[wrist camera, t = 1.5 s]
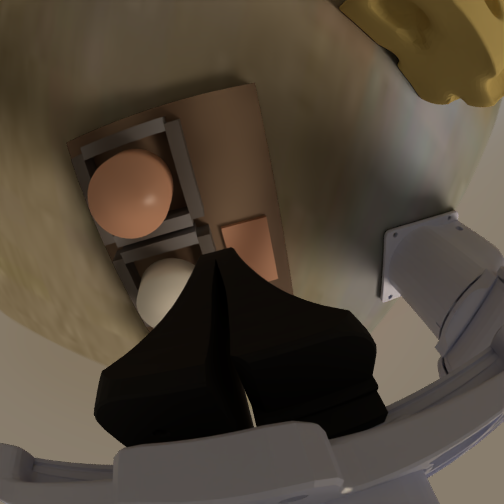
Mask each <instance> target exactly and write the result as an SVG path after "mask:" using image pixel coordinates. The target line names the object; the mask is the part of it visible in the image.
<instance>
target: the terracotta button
mask: <svg viewBox="0 0 504 504" xmlns="http://www.w3.org/2000/svg"><path fill="white" fill-rule="evenodd" d="M172 195H173V178H172V175H171V172H170V170H169V168H168V166H167V165H166V163H165V162H164V161H163V160H162V159H161V158H160V157H159V156H157V155H156V154H154V153H152V152H150V151H148V150H144V149H128V150H124V151H122V152H120V153H118V154H116V155H114V156H113V157H111V158H110V159H109V160H107V161H106V162H104V163H103V164H102V165H101V166H99V168H98V169H97V170H96V171H95V173H94V174H93V176H92V178H91V180H90V183H89V187H88V204H89V208H90V211H91V213H92V216H93V217H94V219H95V220H96V222H97V223H98V224H99V225H100V226H101V227H102V228H103V229H104V230H106V231H107V232H109V233H110V234H112V235H115V236H117V237H121V238H128V239H133V238H139V237H143V236H146V235H148V234H150V233H152V232H153V231H154V230H156V229H157V228H158V227H159V226H160V225H161V224H162V222H163V221H164V219H165V218H166V216H167V213H168V211H169V207H170V203H171V199H172Z"/></svg>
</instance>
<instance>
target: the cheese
mask: <svg viewBox="0 0 504 504" xmlns="http://www.w3.org/2000/svg"><path fill="white" fill-rule="evenodd" d="M339 9H340V10H341V11H342V12H343V13H344V14H345V15H346V16H347V17H349V18H350V19H351V20H352V21H353V22H354V23H355V24H356V25H358V26H359V27H360V28H361V29H362V30H363V31H364V32H365V33H366V34H367V35H368V36H370V37H371V38H372V39H373V40H374V41H375V42H376V43H377V44H379V45H380V46H382V47H384V48H386V49H388V50H390V51H391V52H392V53H394V54H395V55H396V56H397V57H398V59H399V62H398V67H399V69H400V70H401V72H402V73H403V74H404V76H405V77H406V78H407V80H408V81H409V82H410V83H411V85H412V86H413V88H414V89H415V91H416V92H417V94H418V95H419V96H420V98H421V99H423V100H425V101H428V102H430V103H434V104H442V105H443V104H449V103H451V102H452V101H454V100H457V99H459V98H461V99H463V100H464V101H465V102H466V104H468V105H470V106H475V107H490V106H493V105H495V104H496V103H497V102H498V100H499V99H500V98H502V97H503V96H504V0H346V1H345V2H344V3H343V4H342V5H341V6H340V7H339Z"/></svg>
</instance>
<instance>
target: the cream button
mask: <svg viewBox="0 0 504 504" xmlns="http://www.w3.org/2000/svg"><path fill="white" fill-rule="evenodd" d="M194 267H195V265H194V264H192V263H190V262H188V261H185V260H182V259H177V258H167V259H162V260H159V261H157V262H155V263H153V264H152V265H150V266H149V267H148V268H147V269H146V270H145V272H144V274H143V276H142V279H141V283H140V287H139V291H138V295H137V301H136V304H137V309H138V312H139V314H140V316H141V318H142V319H143V320H144V321H145V322H146V323H147V324H148V325H150V326H151V327H153V328H154V327H155V326H156V325H157V324H158V323H159V322H160V321H161V320H162V319H163V318H164V316H165V315H166V314H167V312H168V311H169V310H170V309H171V307H172V306H173V305H174V303H175V302H176V300H177V298H178V297H179V295H180V293H181V292H182V290H183V289H184V287H185V285H186V283H187V281H188V279H189V277H190V275H191V273H192V271H193V269H194Z"/></svg>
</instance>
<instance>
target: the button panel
mask: <svg viewBox="0 0 504 504" xmlns="http://www.w3.org/2000/svg"><path fill="white" fill-rule="evenodd" d="M67 147H68V150H69V153H70V156H71V161H72V164H73V167H74V170H75V172H76V175H77V178H78V181H79V184H80V187H81V189H82V192H83V195H84V197H85V200H86V202H87V205H88V208H89V204H88V187H89V183H90V180H91V178H92V176H93V174H94V173H95V171H96V170H97V169H98V168H99V166H101V165H102V164H103V163H104V162H106V161H107V160H109V159H110V158H111V157H113V156H114V155H116V154H118V153H120V152H122V151H124V150H128V149H144V150H148V151H150V152H152V153H154V154H156V155H157V156H159V157H160V158H161V159H162V160H163V161H164V162H165V163H166V165H167V166H168V168H169V170H170V172H171V175H172V178H173V195H172V199H171V203H170V207H169V211H168V213H167V216H166V218H165V219H164V221H163V222H162V224H161V225H160V226H159V227H158V228H157V229H156V230H154V231H153V232H152V233H150V234H148V235H146V236H143V237H139V238H133V239H128V238H121V237H117V236H115V235H112V234H110V233H109V232H107V231H106V230H104V229H103V228H102V227H101V226H100V225H99V224H98V223H97V222H96V220H95V219H94V217H93V216H92V218H93V220H94V222H95V225H96V227H97V230H98V232H99V234H100V236H101V239H102V241H103V243H104V245H105V247H106V249H107V251H108V253H109V256H110V258H111V260H112V263H113V265H114V267H115V269H116V271H117V273H118V275H119V277H120V279H121V281H122V283H123V285H124V287H125V289H126V291H127V293H128V295H129V297H130V299H131V301H132V302H133V304H134V306H135V308H136V310H137V312H138V309H137V304H136V301H137V295H138V291H139V287H140V283H141V279H142V276H143V274H144V272H145V270H146V269H147V268H148V267H149V266H150V265H152V264H153V263H155V262H157V261H159V260H162V259H167V258H177V259H182V260H185V261H188V262H190V263H192V264H194V265H196V263H197V261H198V259H199V257H200V255H203V254H207V253H211V252H214V251H218V250H222V249H226V248H229V247H232V248H234V249H235V251H236V252H237V254H238V255H239V256H240V257H241V259H242V260H243V261H244V262H245V263H246V264H247V265H248V266H249V267H251V268H252V269H253V270H254V271H255V272H256V273H257V274H259V275H260V276H261V277H263V278H264V279H265V280H267V281H268V282H270V283H271V284H273V285H274V286H276V287H278V288H279V289H281V290H283V291H285V292H287V293H289V294H291V295H293V289H292V282H291V276H290V269H289V263H288V257H287V250H286V244H285V238H284V232H283V226H282V221H281V215H280V209H279V203H278V198H277V192H276V187H275V181H274V176H273V171H272V165H271V160H270V155H269V150H268V145H267V139H266V134H265V129H264V124H263V120H262V115H261V110H260V105H259V100H258V96H257V91H256V86H255V83H251V84H246V85H240V86H235V87H231V88H226V89H221V90H217V91H212V92H208V93H204V94H200V95H196V96H192V97H189V98H185V99H181V100H178V101H174V102H171V103H168V104H164V105H161V106H158V107H155V108H152V109H149V110H146V111H143V112H140V113H137V114H134V115H131V116H129V117H126V118H123V119H120V120H118V121H115V122H113V123H110V124H108V125H105V126H103V127H100V128H98V129H95V130H93V131H91V132H88V133H86V134H84V135H82V136H79V137H77V138H75V139H73V140H71V141H69V142H67ZM89 210H90V208H89ZM90 213H91V211H90ZM91 215H92V213H91ZM138 313H139V312H138ZM139 315H140V314H139ZM140 317H141V316H140ZM141 319H142V318H141ZM142 321H143V322H144V324H145V326H146V327H147V329H148V330H149V332H151V331H152V330H153V329H154V328H153V327H151V326H150V325H148V324H147V323H146V322H145V321H144V320H143V319H142Z"/></svg>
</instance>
